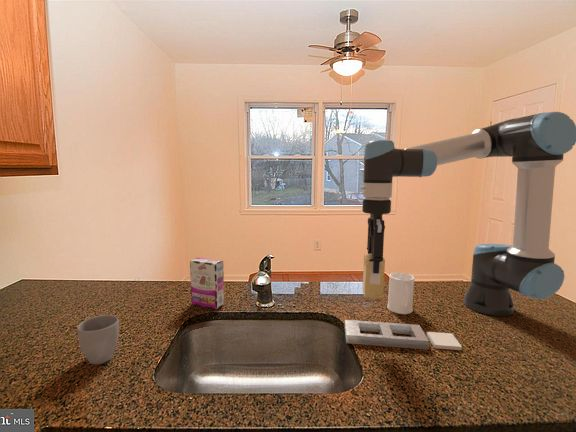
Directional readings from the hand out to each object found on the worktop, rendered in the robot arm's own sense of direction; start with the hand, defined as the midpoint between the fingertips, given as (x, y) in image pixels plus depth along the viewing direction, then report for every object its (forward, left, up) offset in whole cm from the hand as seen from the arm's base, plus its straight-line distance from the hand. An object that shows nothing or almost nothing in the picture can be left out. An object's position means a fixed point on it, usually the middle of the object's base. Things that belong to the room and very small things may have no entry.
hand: (373, 279), depth 87 cm
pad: (-20, 0, -17) cm, 27 cm away
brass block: (0, 0, -4) cm, 4 cm away
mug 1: (+70, +19, -18) cm, 75 cm away
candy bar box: (+55, -14, -18) cm, 60 cm away
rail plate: (-4, 0, -17) cm, 18 cm away
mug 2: (-13, -19, -18) cm, 29 cm away
